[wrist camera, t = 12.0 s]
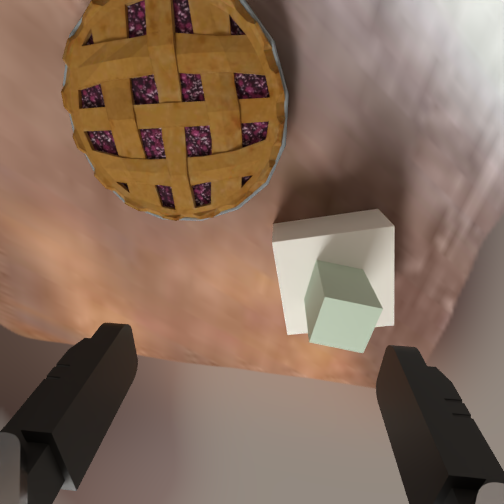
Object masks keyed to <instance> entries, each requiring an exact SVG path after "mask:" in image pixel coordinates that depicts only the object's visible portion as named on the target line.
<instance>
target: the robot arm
mask: <svg viewBox="0 0 504 504" xmlns="http://www.w3.org/2000/svg"><path fill="white" fill-rule="evenodd" d="M137 365H138V359H137V354H136V349H135V344H134V338H133V333H132V329H131V326H130V325H128V324H117V323H103V324H102V325H101V326H100V327H99V328H98V330H97V331H96V332H95V334H94V335H93V336H92V338H84V339H83V340H81V341H80V342H78V343H77V344H76V345H74V346H73V347H71V348H70V349H69V350H68V351H67V352H66V353H65V355H64V356H63V357H62V358H61V359H60V360H59V362H58V363H57V366H56V367H54V368H53V369H52V370H51V371H50V373H49V374H48V375H47V378H46V379H44V380H43V381H42V382H41V383H40V385H39V386H38V387H37V388H36V390H35V391H34V392H33V393H32V394H31V395H30V397H29V398H28V399H27V400H26V402H25V403H24V404H23V405H22V406H21V408H20V409H19V410H18V411H17V412H16V414H15V415H14V416H13V417H12V419H11V420H10V421H9V422H8V423H7V425H6V426H5V427H4V428H3V429H2V430H1V431H0V504H52V503H53V501H54V500H55V498H56V496H57V494H58V492H59V490H60V489H65V490H74V491H76V490H77V489H78V487H79V485H80V483H81V481H82V479H83V477H84V475H85V473H86V471H87V469H88V468H89V465H90V464H91V462H92V460H93V458H94V456H95V454H96V452H97V450H98V448H99V446H100V444H101V442H102V440H103V438H104V436H105V435H106V433H107V431H108V429H109V427H110V425H111V423H112V421H113V419H114V417H115V415H116V413H117V411H118V409H119V407H120V405H121V403H122V401H123V399H124V398H125V396H126V394H127V392H128V390H129V388H130V386H131V384H132V382H133V380H134V378H135V375H136V371H137ZM376 394H377V400H378V404H379V407H380V410H381V413H382V417H383V420H384V423H385V427H386V430H387V433H388V436H389V440H390V443H391V446H392V449H393V452H394V456H395V459H396V462H397V465H398V469H399V472H400V475H401V478H402V482H403V485H404V488H405V491H406V495H407V498H408V501H409V504H504V471H503V469H502V468H501V466H500V464H499V462H498V461H497V459H496V457H495V456H494V454H493V452H492V450H491V449H490V447H489V445H488V444H487V442H486V440H485V438H484V437H483V435H482V433H481V431H480V430H479V428H478V426H477V425H476V423H475V421H474V420H473V419H471V414H470V413H469V411H468V409H467V408H466V406H465V404H464V403H462V399H461V397H460V396H459V394H458V392H457V390H456V389H455V387H454V385H453V384H452V382H451V381H450V380H449V379H448V378H447V377H446V376H445V375H444V374H443V373H442V372H440V371H439V370H438V369H437V368H436V367H429V366H427V365H426V363H425V361H424V359H423V357H422V356H421V354H420V352H419V350H418V349H417V348H415V347H407V346H394V345H389V346H387V348H386V350H385V354H384V357H383V361H382V364H381V367H380V371H379V374H378V378H377V382H376Z"/></svg>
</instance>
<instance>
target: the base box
mask: <svg viewBox="0 0 504 504" xmlns="http://www.w3.org/2000/svg"><path fill="white" fill-rule="evenodd" d="M394 232H395V226H394V225H393V224H392V223H391V222H390V221H389V220H388V219H387V218H386V216H385V215H384V214H383V213H382V212H381V211H380V210H379V209H373V210H366V211H359V212H352V213H345V214H338V215H331V216H324V217H317V218H310V219H303V220H296V221H289V222H282V223H275V224H273V236H272V245H273V251H274V257H275V263H276V269H277V275H278V281H279V287H280V293H281V299H282V305H283V310H284V316H285V322H286V328H287V334H288V335H291V334H302V333H308V328H307V320H306V312H305V304H304V297H305V294H306V291H307V288H308V285H309V281H310V278H311V275H312V272H313V269H314V265H315V262H316V260H320V261H324V262H329V263H334V264H339V265H344V266H349V267H353V268H358V269H363V270H364V272H365V274H366V276H367V278H368V280H369V282H370V284H371V286H372V288H373V290H374V292H375V294H376V296H377V298H378V300H379V302H380V304H381V306H382V308H383V310H382V312H381V315H380V317H379V319H378V321H377V323H376V326H375V327H381V326H392V325H394Z"/></svg>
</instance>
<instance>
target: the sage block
mask: <svg viewBox="0 0 504 504" xmlns="http://www.w3.org/2000/svg"><path fill="white" fill-rule="evenodd" d="M304 304H305V312H306V320H307V328H308V337H309V342H311V343H316V344H320V345H325V346H330V347H335V348H340V349H345V350H350V351H355V352H359V353H363V352H364V350H365V348H366V346H367V343H368V341H369V339H370V337H371V334H372V332H373V330H374V328H375V326H376V323H377V321H378V319H379V317H380V315H381V312H382V310H383V308H382V306H381V304H380V302H379V300H378V298H377V296H376V294H375V292H374V290H373V288H372V286H371V284H370V282H369V280H368V278H367V276H366V274H365V272H364V270H363V269H358V268H353V267H349V266H344V265H339V264H334V263H329V262H324V261H320V260H316V262H315V265H314V269H313V272H312V275H311V278H310V281H309V285H308V288H307V291H306V294H305V297H304Z"/></svg>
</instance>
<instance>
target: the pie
mask: <svg viewBox="0 0 504 504" xmlns="http://www.w3.org/2000/svg"><path fill="white" fill-rule="evenodd" d="M62 59H63V60H64V62H65V63H66V65H65V73H64V81H63V89H62V91H61V93H62V99H63V105H64V107H65V109H66V110H67V111H68V112H69V115H70V119H71V124H72V128H73V139H74V141H75V144H76V146H77V148H78V149H79V150H80V151H82V152H83V153H84V154H85V156H86V158H87V159H88V161H89V163H90V165H91V167H92V169H93V171H94V176H95V177H96V178H97V179H98V180H99V181H100V183H101V184H102V185H103V186H104V187H105V188H106V189H109V190H112V191H113V192H114V193H115V194H116V195H117V196H118V197H119V198H120V199H121V200H122V201H123V202H124V203H125V204H126V205H128V206H130V207H132V208H134V209H136V210H138V211H143V212H146V213H148V214H151V215H153V216H156V217H158V218H160V219H167V220H175V221H177V220H192V221H202V220H206V219H209V218H212V217H215V216H218V215H222V214H225V213H228V212H231V211H234V210H238V209H239V208H240V207H241V206H243V205H244V204H245V203H246V202H247V201H249V200H250V199H251V198H252V197H253V196H255V195H256V194H257V193H258V192H259V191H261V190H262V189H263V188H264V187H265V186H267V185H268V183H269V181H270V179H271V177H272V174H273V172H274V170H275V168H276V165H277V163H278V161H279V159H280V156H281V154H282V152H283V150H284V147H285V145H286V131H287V113H288V95H289V94H288V91H287V87H286V83H285V79H284V76H283V72H282V68H281V64H280V60H279V57H278V53H277V49H276V45H275V42H274V40H273V39H272V37H271V36H270V34H269V33H268V32H267V30H266V29H265V27H264V26H263V25H262V23H261V22H260V20H259V19H258V18H257V16H256V15H255V13H254V12H253V11H252V9H251V8H250V6H249V5H248V4H247V2H246V1H245V0H91V2H90V4H89V6H88V7H87V9H86V11H85V13H84V14H83V16H82V18H81V19H80V21H79V22H78V23H77V25H76V26H75V28H74V29H73V31H72V32H71V33H70V35H69V38H68V40H67V43H66V47H65V50H64V54H63V58H62Z"/></svg>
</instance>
